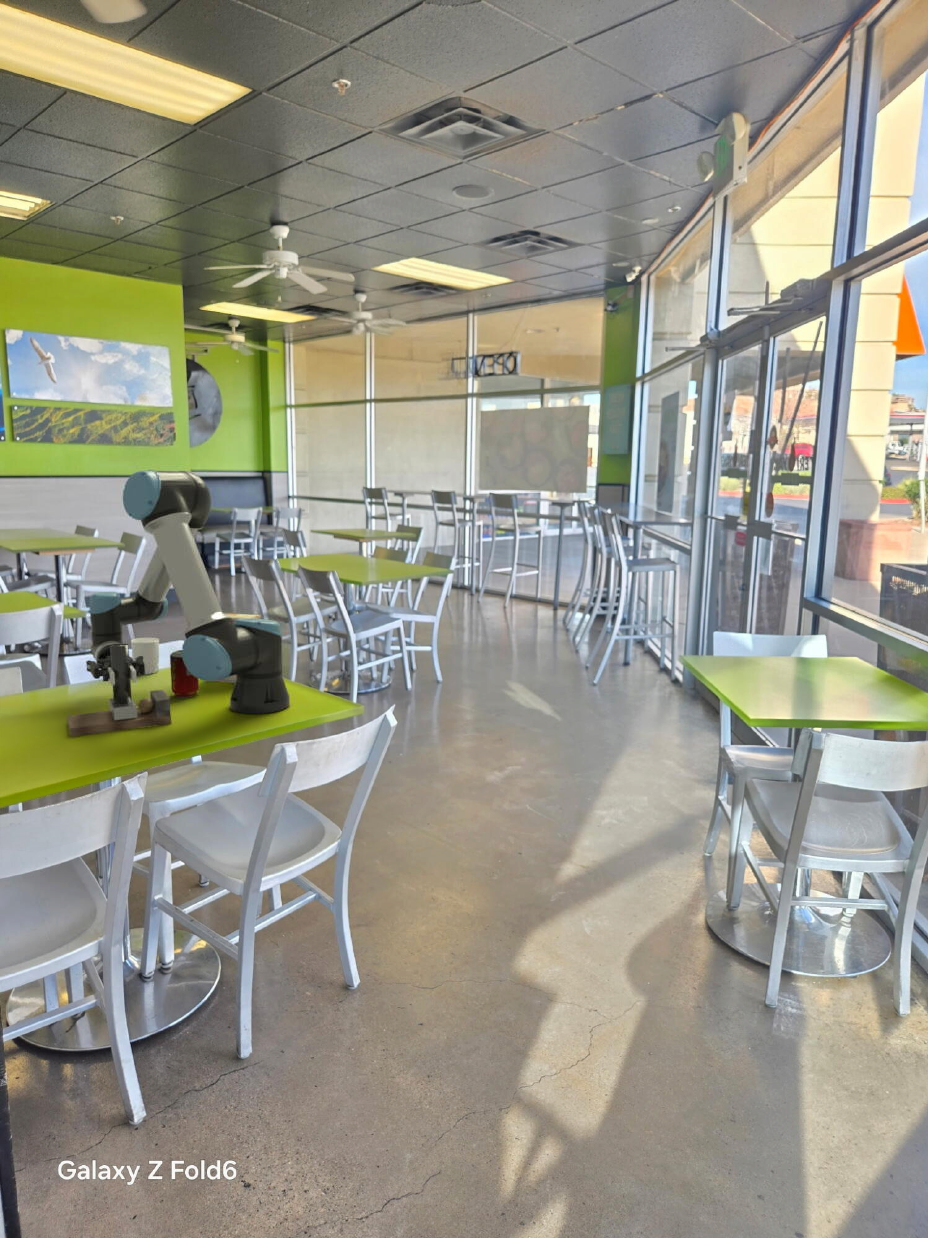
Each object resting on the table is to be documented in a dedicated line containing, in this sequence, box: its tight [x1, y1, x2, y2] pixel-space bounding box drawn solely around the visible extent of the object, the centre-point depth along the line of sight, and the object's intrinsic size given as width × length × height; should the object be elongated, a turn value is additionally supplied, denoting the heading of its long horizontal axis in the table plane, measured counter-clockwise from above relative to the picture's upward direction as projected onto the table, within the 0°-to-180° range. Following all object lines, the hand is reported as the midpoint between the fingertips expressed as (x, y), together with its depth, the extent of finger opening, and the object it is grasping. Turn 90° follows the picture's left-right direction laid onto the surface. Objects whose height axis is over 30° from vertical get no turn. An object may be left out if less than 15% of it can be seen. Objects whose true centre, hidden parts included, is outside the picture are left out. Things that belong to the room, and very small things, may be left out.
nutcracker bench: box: [66, 689, 172, 738], centre depth 192 cm, size 22×11×6 cm, turn 120°
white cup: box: [130, 637, 160, 675], centre depth 243 cm, size 8×8×10 cm
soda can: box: [169, 649, 200, 699], centre depth 218 cm, size 7×7×12 cm
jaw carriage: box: [108, 643, 138, 720], centre depth 191 cm, size 5×9×17 cm, turn 30°
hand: (123, 678), depth 186 cm, fingers closed on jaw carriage, 4 cm apart
